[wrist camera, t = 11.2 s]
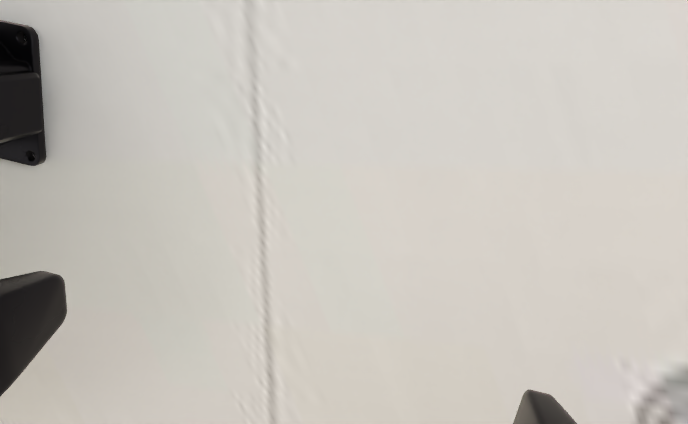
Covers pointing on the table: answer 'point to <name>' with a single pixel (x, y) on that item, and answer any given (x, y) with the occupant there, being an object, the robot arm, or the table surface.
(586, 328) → the table surface
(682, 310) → the table surface
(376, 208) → the table surface
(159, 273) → the table surface
